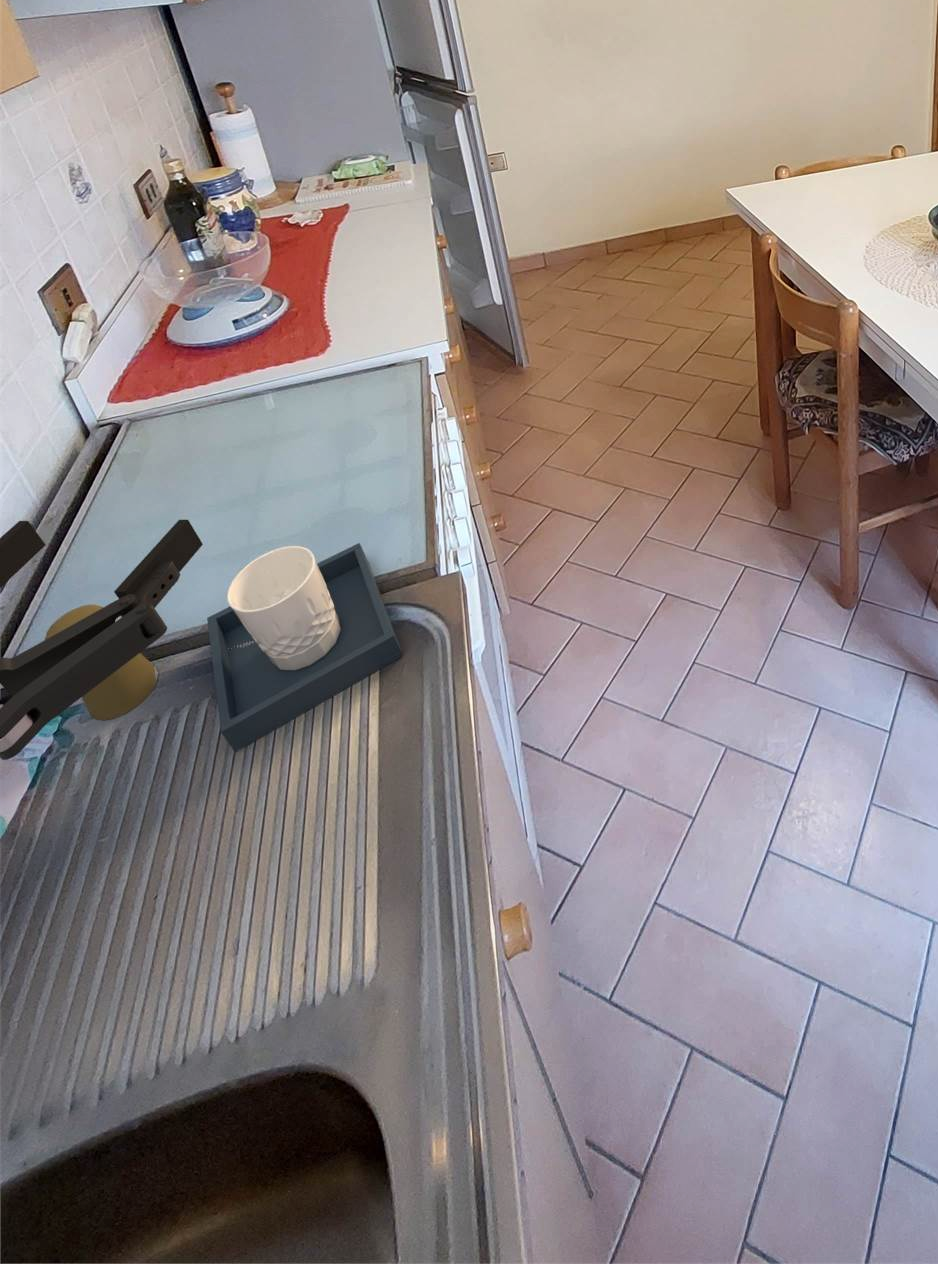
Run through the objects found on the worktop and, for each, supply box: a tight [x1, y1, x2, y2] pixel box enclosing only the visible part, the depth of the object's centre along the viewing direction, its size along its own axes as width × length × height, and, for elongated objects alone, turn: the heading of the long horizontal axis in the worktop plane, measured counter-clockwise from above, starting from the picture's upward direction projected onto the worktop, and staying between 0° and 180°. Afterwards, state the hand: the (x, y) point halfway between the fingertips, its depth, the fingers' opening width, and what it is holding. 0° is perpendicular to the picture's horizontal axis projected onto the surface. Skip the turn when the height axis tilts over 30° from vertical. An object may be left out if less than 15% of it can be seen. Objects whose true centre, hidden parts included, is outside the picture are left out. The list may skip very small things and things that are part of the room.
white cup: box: [226, 545, 341, 671], centre depth 81 cm, size 8×8×10 cm
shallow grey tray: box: [206, 542, 404, 753], centre depth 83 cm, size 16×16×3 cm
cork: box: [44, 604, 158, 721], centre depth 79 cm, size 6×6×11 cm
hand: (111, 532), depth 62 cm, fingers open, 13 cm apart
